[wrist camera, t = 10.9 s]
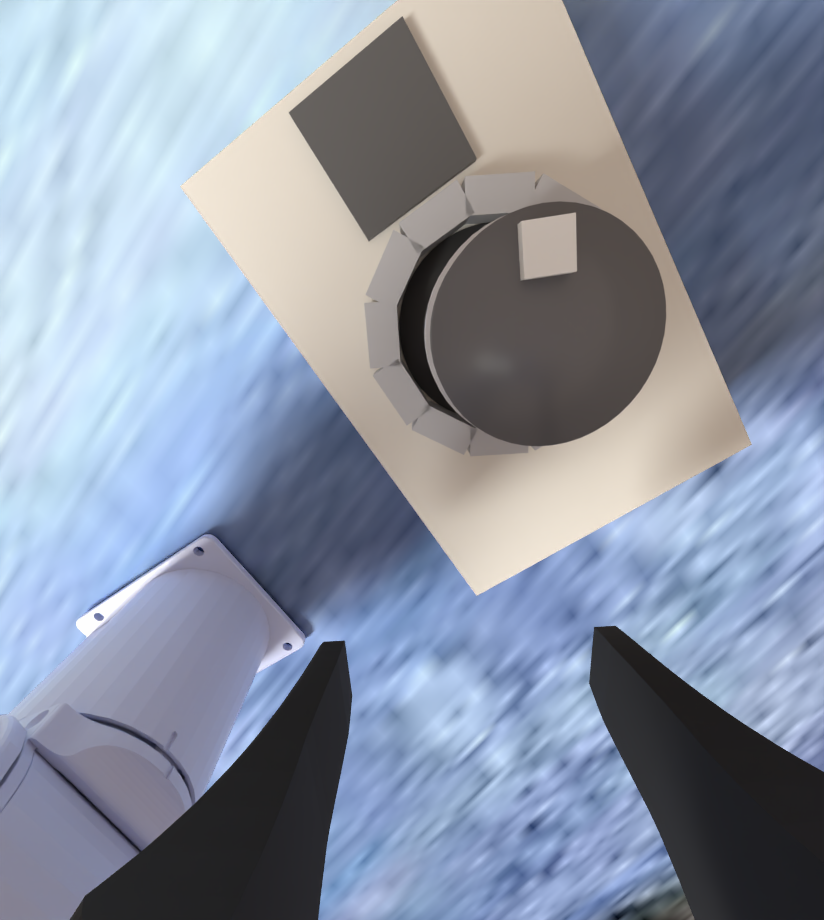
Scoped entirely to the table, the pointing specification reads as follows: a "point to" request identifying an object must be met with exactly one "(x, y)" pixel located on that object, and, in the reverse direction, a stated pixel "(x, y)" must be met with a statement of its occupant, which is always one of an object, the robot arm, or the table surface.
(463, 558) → the camera body
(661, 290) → the lens
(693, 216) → the table surface
